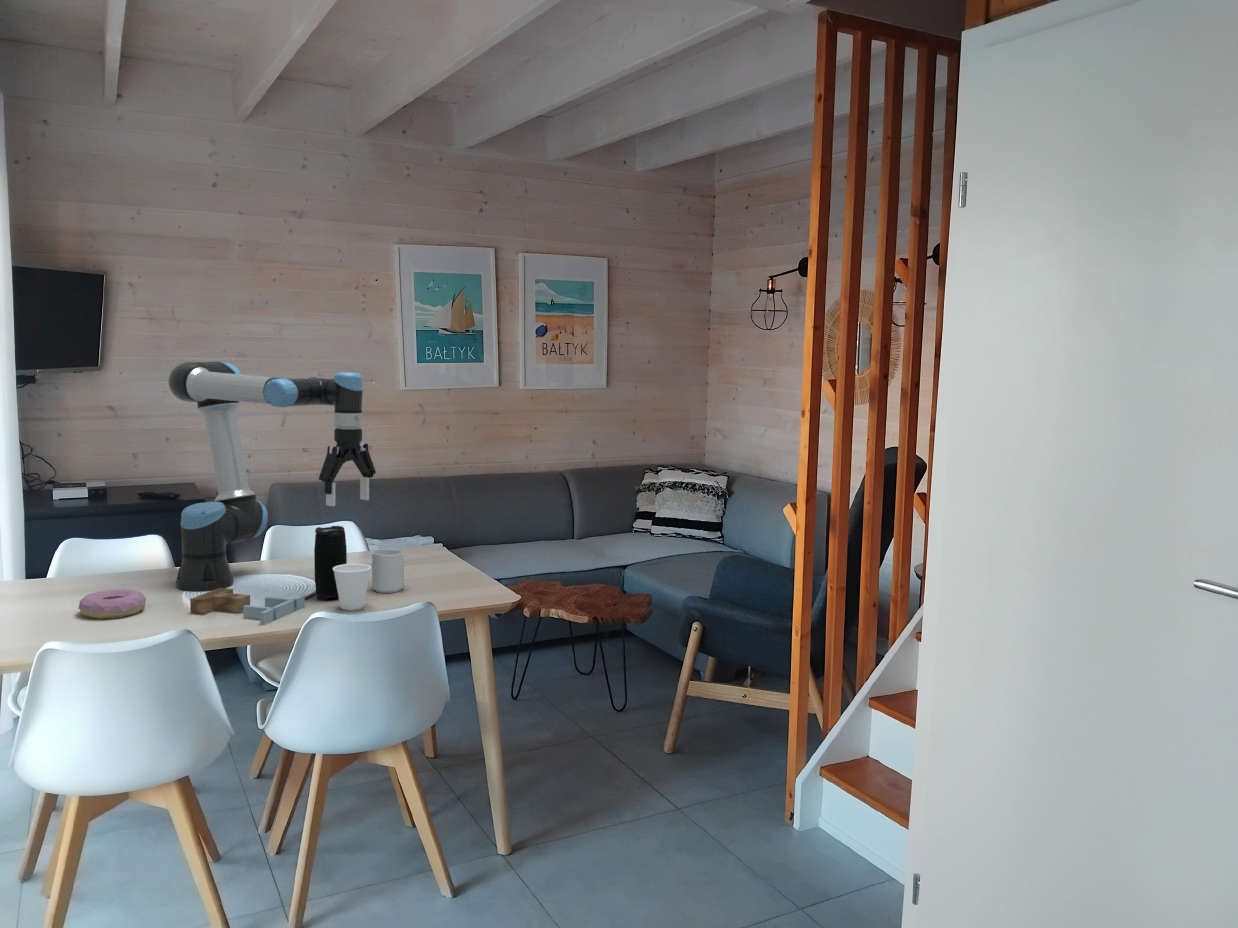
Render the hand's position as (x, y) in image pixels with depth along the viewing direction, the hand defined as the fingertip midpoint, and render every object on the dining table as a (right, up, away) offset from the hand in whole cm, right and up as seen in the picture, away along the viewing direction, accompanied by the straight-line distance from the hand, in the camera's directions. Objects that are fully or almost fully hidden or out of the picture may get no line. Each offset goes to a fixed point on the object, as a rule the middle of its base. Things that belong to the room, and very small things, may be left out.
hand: (347, 502), depth 271 cm
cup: (+5, -28, -15) cm, 32 cm away
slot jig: (-14, -28, -23) cm, 39 cm away
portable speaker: (-3, -26, -5) cm, 27 cm away
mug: (+10, -25, +6) cm, 28 cm away
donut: (-53, -28, -24) cm, 65 cm away
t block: (-26, -27, -20) cm, 43 cm away
